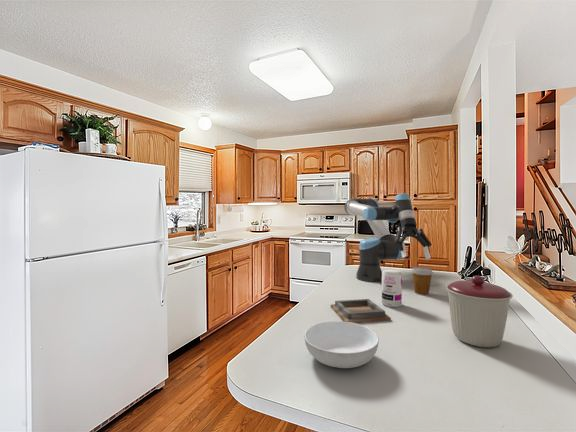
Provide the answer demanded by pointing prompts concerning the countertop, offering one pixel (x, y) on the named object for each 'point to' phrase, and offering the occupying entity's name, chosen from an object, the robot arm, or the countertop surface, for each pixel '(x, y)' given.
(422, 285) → the disposable coffee cup
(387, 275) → the supplement can
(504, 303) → the canister
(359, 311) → the jig plate
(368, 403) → the countertop surface
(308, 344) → the serving bowl
